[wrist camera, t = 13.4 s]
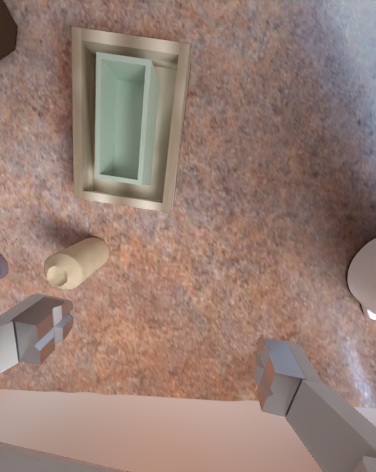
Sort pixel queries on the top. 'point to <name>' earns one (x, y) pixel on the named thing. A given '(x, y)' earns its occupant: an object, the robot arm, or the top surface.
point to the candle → (75, 263)
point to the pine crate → (167, 124)
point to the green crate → (125, 118)
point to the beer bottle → (6, 31)
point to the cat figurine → (3, 267)
